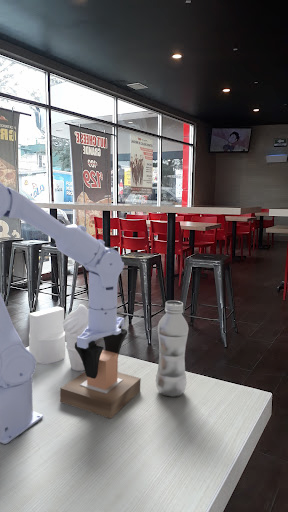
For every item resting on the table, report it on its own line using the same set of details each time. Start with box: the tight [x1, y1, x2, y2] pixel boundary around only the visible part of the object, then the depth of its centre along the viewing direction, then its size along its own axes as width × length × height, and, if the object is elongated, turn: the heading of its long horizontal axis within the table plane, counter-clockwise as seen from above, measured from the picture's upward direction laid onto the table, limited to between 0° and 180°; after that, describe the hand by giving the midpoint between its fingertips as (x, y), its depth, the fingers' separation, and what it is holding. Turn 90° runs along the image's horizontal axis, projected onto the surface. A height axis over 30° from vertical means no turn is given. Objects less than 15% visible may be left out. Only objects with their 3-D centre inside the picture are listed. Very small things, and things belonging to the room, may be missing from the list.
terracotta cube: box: [87, 349, 119, 390], centre depth 82 cm, size 4×4×6 cm
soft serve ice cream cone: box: [63, 303, 88, 372], centre depth 95 cm, size 8×8×16 cm
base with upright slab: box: [28, 306, 66, 364], centre depth 101 cm, size 9×9×12 cm
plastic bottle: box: [155, 300, 189, 398], centre depth 84 cm, size 6×7×20 cm
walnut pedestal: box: [59, 371, 142, 419], centre depth 83 cm, size 12×12×3 cm
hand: (101, 369), depth 82 cm, fingers open, 7 cm apart
